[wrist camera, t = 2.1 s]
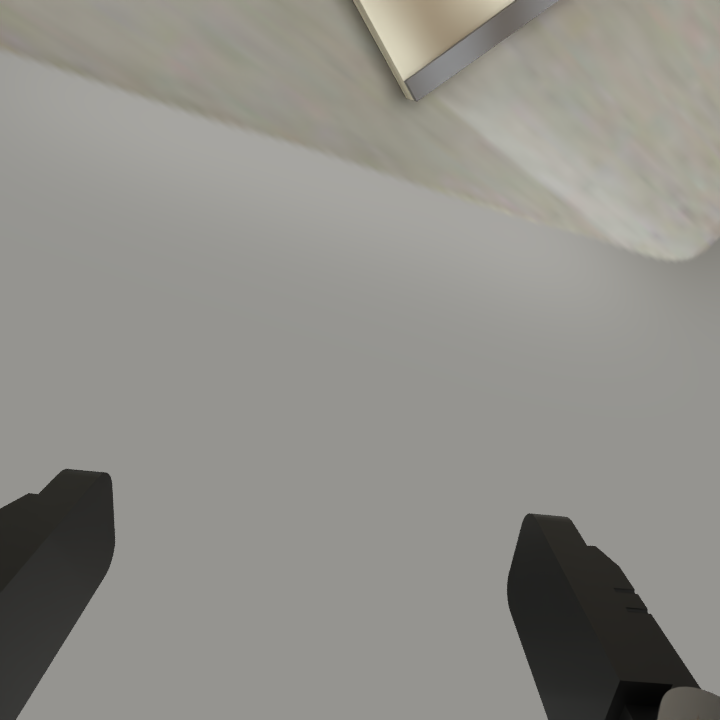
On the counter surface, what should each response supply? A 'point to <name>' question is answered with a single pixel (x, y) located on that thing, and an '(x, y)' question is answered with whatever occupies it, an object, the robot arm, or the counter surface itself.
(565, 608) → the robot arm
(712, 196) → the counter surface
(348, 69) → the counter surface
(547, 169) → the counter surface
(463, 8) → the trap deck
